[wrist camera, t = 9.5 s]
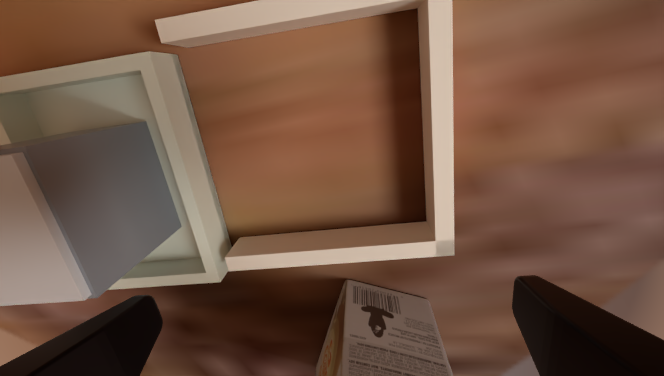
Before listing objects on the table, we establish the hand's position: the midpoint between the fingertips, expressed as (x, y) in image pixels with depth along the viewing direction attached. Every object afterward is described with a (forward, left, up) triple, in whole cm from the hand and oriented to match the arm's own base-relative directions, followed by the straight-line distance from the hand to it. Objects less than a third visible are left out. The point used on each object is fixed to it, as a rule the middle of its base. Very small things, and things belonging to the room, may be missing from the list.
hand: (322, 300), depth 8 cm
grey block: (+14, -1, -11) cm, 18 cm away
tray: (+14, -1, -12) cm, 18 cm away
